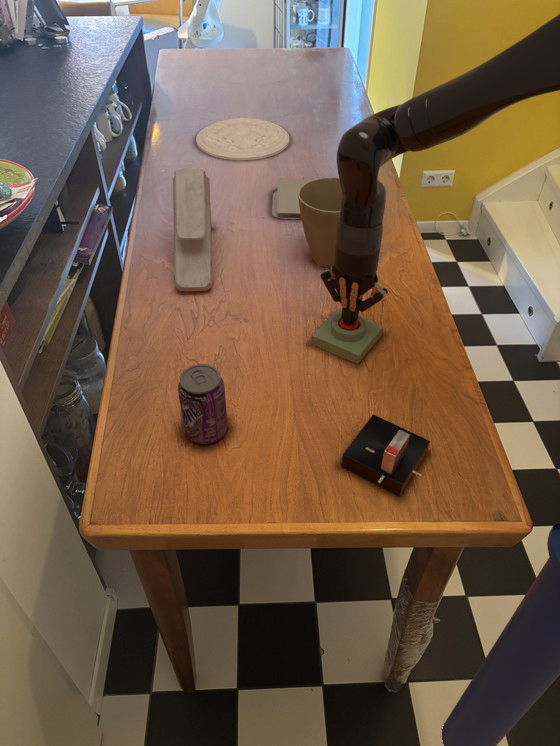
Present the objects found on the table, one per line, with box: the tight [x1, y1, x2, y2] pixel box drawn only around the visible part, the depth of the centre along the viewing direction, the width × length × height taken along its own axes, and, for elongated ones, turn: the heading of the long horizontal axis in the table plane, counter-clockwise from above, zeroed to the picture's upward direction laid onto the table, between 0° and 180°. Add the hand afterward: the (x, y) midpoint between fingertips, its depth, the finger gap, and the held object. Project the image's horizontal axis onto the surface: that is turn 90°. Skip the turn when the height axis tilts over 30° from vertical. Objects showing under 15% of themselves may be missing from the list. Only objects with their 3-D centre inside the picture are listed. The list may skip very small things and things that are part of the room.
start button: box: [339, 319, 359, 331], centre depth 113 cm, size 4×4×2 cm
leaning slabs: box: [172, 167, 213, 292], centre depth 132 cm, size 8×24×23 cm
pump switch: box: [311, 308, 384, 365], centre depth 114 cm, size 10×10×4 cm
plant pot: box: [298, 176, 342, 269], centre depth 130 cm, size 15×15×16 cm
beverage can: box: [177, 363, 228, 445], centre depth 94 cm, size 7×7×12 cm
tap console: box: [341, 414, 431, 497], centre depth 93 cm, size 12×12×3 cm
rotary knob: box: [380, 430, 410, 475], centre depth 89 cm, size 5×2×5 cm, turn 146°
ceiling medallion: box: [195, 117, 290, 161], centre depth 180 cm, size 28×28×3 cm
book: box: [271, 178, 315, 220], centre depth 152 cm, size 15×23×4 cm, turn 89°
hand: (349, 322), depth 113 cm, fingers closed
